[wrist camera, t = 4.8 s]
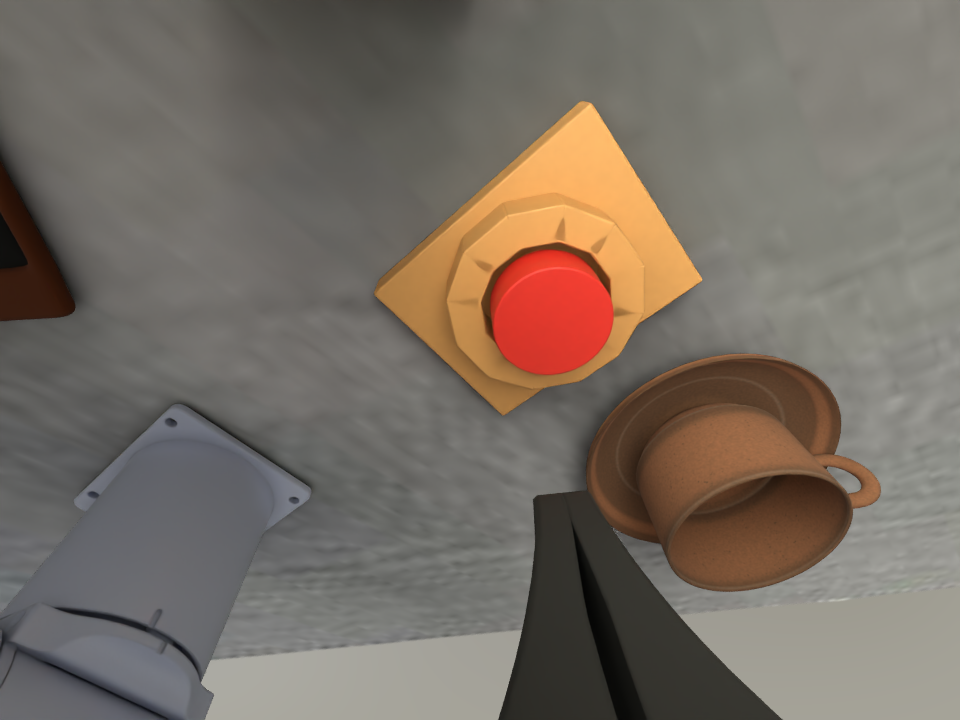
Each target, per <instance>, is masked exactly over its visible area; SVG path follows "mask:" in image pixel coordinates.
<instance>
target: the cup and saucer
mask: <svg viewBox="0 0 960 720" xmlns="http://www.w3.org/2000/svg"><path fill="white" fill-rule="evenodd" d="M840 433H841V415H840V410H839V406H838V404H837V401H836V399H835V397H834V395H833V394H832V392H831V390H830V389H829V388H828V387H827V385H826V384H825V383H824V382H823V381H822V380H820V379H819V378H818V377H817V376H816V375H814V374H813V373H811V372H809V371H808V370H806V369H804V368H802V367H800V366H798V365H796V364H794V363H792V362H789V361H786V360H783V359H780V358H776V357H771V356H766V355H758V354H728V355H721V356H714V357H709V358H705V359H700V360H697V361H694V362H690V363H687V364H684V365H682V366H679V367H677V368H674V369H672V370H670V371H667V372H665V373H663V374H661V375H659V376H657V377H656V378H654V379H652V380H650V381H649V382H647V383H646V384H644V385H643V386H641V387H640V388H638V389H637V390H635V391H634V392H633V393H632V394H630V395H629V396H628V397H626V398H625V399H624V400H623V401H622V402H621V403H620V404H619V405H618V406H617V407H616V408H615V409H614V410H613V411H612V412H611V414H610V415H609V416H608V417H607V419H606V420H605V421H604V422H603V424H602V425H601V427H600V429H599V430H598V432H597V434H596V436H595V438H594V440H593V442H592V444H591V447H590V450H589V454H588V458H587V465H586V484H587V489H588V492H590V493H591V494H592V496H593V498H594V500H595V502H596V503H597V505H598V507H599V509H600V510H601V512H602V514H603V515H604V517H605V518H606V520H607V522H608V523H609V525H611V526H612V527H614V528H615V529H617V530H618V531H620V532H622V533H624V534H626V535H628V536H631V537H633V538H636V539H640V540H643V541H648V542H652V543H660V544H661V545H662V548H663V550H664V553H665V555H666V557H667V560H668V562H669V564H670V566H671V568H672V570H673V571H674V572H675V574H676V575H677V576H678V577H680V578H681V579H682V580H684V581H685V582H687V583H689V584H691V585H693V586H696V587H699V588H702V589H706V590H712V591H723V592H733V591H745V590H752V589H757V588H762V587H766V586H770V585H773V584H776V583H779V582H782V581H785V580H787V579H789V578H792V577H794V576H796V575H798V574H800V573H802V572H804V571H806V570H807V569H809V568H811V567H812V566H814V565H815V564H817V563H818V562H820V561H821V560H822V559H824V558H825V557H826V556H827V555H829V554H830V553H831V552H832V551H833V550H834V549H835V548H836V547H837V546H838V544H839V543H840V542H841V541H842V539H843V538H844V536H845V535H846V533H847V531H848V529H849V527H850V524H851V521H852V516H853V509H854V508H861V507H865V506H868V505H871V504H873V503H874V502H875V501H877V499H878V498H879V496H880V493H881V487H880V484H879V482H878V480H877V478H876V477H875V476H874V475H873V473H872V472H870V471H869V470H868V469H867V468H865V467H864V466H862V465H861V464H859V463H857V462H855V461H853V460H851V459H848V458H845V457H842V456H838V455H834V454H835V451H836V448H837V445H838V442H839V438H840ZM828 466H830V467H836V468H840V469H842V470H845V471H847V472H849V473H851V474H852V475H854V476H855V477H856V478H857V479H858V480H859V481H860V483H861V489H860V490H859V491H858V492H855V493H849V494H848V493H847V492H846V490H845V489H844V488H843V487H842V486H841V485H840V484H839V483H838V482H837V481H836V480H835V478H834V477H833V476H832V475H831V474H830V473H829V472H828V471H827V470H826V469H827V467H828Z"/></svg>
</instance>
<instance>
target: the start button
mask: <svg viewBox="0 0 960 720" xmlns="http://www.w3.org/2000/svg"><path fill="white" fill-rule="evenodd" d="M490 313H491V320H492V327H493V335H494V338H495V342H496V344H497V346H498V348H499V350H500V352H501V353H502V354H503V356H504V357H505V358H506V359H507V360H508V361H509V362H510V363H512V364H513V365H515V366H516V367H518V368H520V369H522V370H524V371H527V372H530V373H534V374H539V375H556V374H562V373H566V372H569V371H572V370H574V369H577V368H579V367H581V366H582V365H584V364H586V363H587V362H589V361H590V360H591V359H592V358H594V357H595V356H596V355H597V354H598V353H599V351H600V350H601V349H602V348H603V346H604V345H605V343H606V342H607V340H608V338H609V336H610V333H611V330H612V326H613V321H614V310H613V304H612V300H611V298H610V295H609V293H608V292H607V290H606V288H605V287H604V285H603V284H602V282H601V281H600V279H599V278H598V277H597V275H596V274H595V272H594V271H593V269H592V268H591V267H590V266H589V265H588V264H587V263H586V262H585V261H584V260H583V259H581V258H580V257H578V256H576V255H574V254H572V253H569V252H566V251H562V250H539V251H535V252H532V253H529V254H526V255H524V256H522V257H520V258H518V259H517V260H515V261H514V262H513V263H511V264H510V265H509V266H508V267H507V268H506V269H505V270H504V271H503V272H502V273H501V275H500V276H499V278H498V279H497V281H496V283H495V285H494V287H493V290H492V293H491V298H490Z"/></svg>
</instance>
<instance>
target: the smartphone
mask: <svg viewBox="0 0 960 720" xmlns="http://www.w3.org/2000/svg"><path fill="white" fill-rule="evenodd" d="M74 311H75V303H74V300H73V298H72V296H71V294H70V292H69V290H68V288H67V286H66V284H65V282H64V280H63V277H62V275H61V273H60V271H59V269H58V267H57V265H56V263H55V261H54V260H53V258H52V256H51V254H50V252H49V250H48V248H47V246H46V245H45V243H44V241H43V239H42V237H41V235H40V233H39V232H38V230H37V228H36V226H35V224H34V222H33V220H32V219H31V217H30V215H29V213H28V211H27V209H26V207H25V206H24V204H23V202H22V200H21V198H20V196H19V194H18V193H17V191H16V189H15V187H14V185H13V183H12V181H11V180H10V178H9V176H8V174H7V172H6V170H5V168H4V167H3V165H2V163H1V161H0V321H9V320H26V319H43V318H57V317H64V316H68V315H70V314H72V313H73V312H74Z"/></svg>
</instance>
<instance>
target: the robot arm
mask: <svg viewBox="0 0 960 720" xmlns="http://www.w3.org/2000/svg"><path fill="white" fill-rule="evenodd" d="M170 418H171V419H174V420H175V421H176V422H175V421H172V420H171V419H170ZM311 492H312V491H311V488H310V487H308V486H307V485H306V484H304V483H302V482H301V481H299V480H298V479H296V478H295V477H293V476H292V475H290V474H289V473H287V472H286V471H284V470H283V469H281V468H280V467H278V466H277V465H275V464H274V463H272V462H271V461H269V460H268V459H266V458H264V457H263V456H261V455H260V454H258V453H257V452H255V451H254V450H252V449H251V448H249V447H248V446H246V445H245V444H243V443H242V442H240V441H239V440H237V439H236V438H234V437H233V436H231V435H229V434H228V433H226V432H225V431H223V430H222V429H220V428H219V427H217V426H216V425H214V424H213V423H211V422H210V421H208V420H207V419H205V418H204V417H202V416H201V415H199V414H198V413H196V412H195V411H193V410H191V409H190V408H188V407H187V406H185V405H182V404H174V405H172V406H171V407H170V408H169V409H168V410H166V411H165V412H164V413H163V414H162V415H161V416H160V417H159V418H158V419H157V420H156V421H155V422H154V423H153V424H152V425H151V426H150V427H149V428H148V429H147V430H146V431H144V432H143V433H142V434H141V435H140V436H139V437H138V438H137V439H136V440H135V441H134V442H133V443H132V444H131V445H130V446H129V447H128V448H127V449H126V450H125V451H124V452H122V453H121V454H120V455H119V456H118V457H117V458H116V459H115V460H114V461H113V462H112V463H111V464H110V465H109V466H108V467H107V468H106V469H105V470H104V471H103V472H102V473H101V474H99V475H98V476H97V477H96V478H95V479H94V480H93V481H92V482H91V483H90V484H89V485H88V486H87V487H86V488H85V489H84V490H83V491H82V492H81V493H80V494H79V495H78V496H77V497H76V498H75V499H74V504H75V505H76V506H77V507H78V508H80V509H82V510H84V511H86V513H85V514H84V515H83V516H82V517H81V519H80V520H79V521H78V522H77V523H76V524H75V526H74V527H73V528H72V529H71V530H70V532H69V533H68V534H67V535H66V536H65V538H64V539H63V540H62V541H61V542H60V544H59V545H58V546H57V547H56V548H55V549H54V551H53V552H52V553H51V554H50V555H49V557H48V558H47V559H46V560H45V561H44V563H43V564H42V565H41V566H40V567H39V569H38V570H37V571H36V572H35V573H34V574H33V576H32V577H31V578H30V579H29V580H28V582H27V583H26V584H25V585H24V586H23V588H22V589H21V590H20V591H19V592H18V594H17V595H16V596H15V597H14V598H13V600H12V601H11V602H10V603H9V604H8V605H7V607H6V608H5V609H4V610H3V611H2V613H1V614H0V720H204V719H205V717H206V714H207V712H208V710H209V707H210V704H211V701H212V699H213V697H214V694H213V693H212V692H210V691H209V690H207V689H206V688H205V687H203V686H202V684H201V681H202V679H203V676H204V674H205V672H206V669H207V667H208V664H209V662H210V660H211V657H212V655H213V653H214V650H215V648H216V645H217V643H218V641H219V638H220V636H221V633H222V631H223V629H224V626H225V624H226V621H227V619H228V617H229V614H230V612H231V609H232V607H233V605H234V602H235V600H236V598H237V595H238V593H239V590H240V588H241V586H242V583H243V581H244V578H245V576H246V574H247V571H248V569H249V566H250V564H251V562H252V559H253V557H254V555H255V552H256V550H257V547H258V545H259V543H260V540H261V538H262V535H263V533H264V532H265V531H266V530H268V529H269V528H270V527H272V526H273V525H274V524H276V523H277V522H279V521H280V520H281V519H283V518H284V517H285V516H287V515H288V514H290V513H291V512H292V511H294V510H295V509H296V508H298V507H299V506H301V505H302V504H303V503H305V502H306V501H307V500H308V499H309V498H310V496H311ZM294 497H296V498H294ZM533 505H534V524H535V551H534V561H533V570H532V578H531V585H530V591H529V597H528V603H527V608H526V614H525V619H524V624H523V629H522V634H521V638H520V642H519V646H518V651H517V655H516V659H515V663H514V667H513V670H512V674H511V678H510V681H509V685H508V689H507V692H506V696H505V699H504V703H503V706H502V709H501V712H500V716H499V719H498V720H782V719H781V718H780V717H779V716H778V715H777V714H776V713H775V712H774V711H773V710H771V709H770V708H769V707H768V706H767V705H766V704H765V703H764V702H763V701H762V700H761V699H760V698H759V697H758V696H757V695H756V694H755V693H754V692H753V691H751V690H750V689H749V688H748V687H747V686H746V685H745V684H744V683H743V682H742V681H741V680H740V679H739V678H738V677H737V676H735V674H734V673H732V672H731V671H730V670H729V669H728V668H727V667H726V666H725V665H724V663H722V661H721V660H720V659H719V658H718V657H717V656H716V655H715V654H714V653H713V652H712V651H711V650H710V649H709V648H708V647H707V646H706V645H705V644H704V643H703V642H702V641H701V640H700V639H699V637H698V636H697V635H696V634H695V633H694V632H693V631H692V630H691V629H690V628H689V627H688V626H687V624H686V623H685V622H684V621H683V620H682V619H681V618H680V616H679V615H678V614H677V613H676V612H675V611H674V609H673V608H672V607H671V606H670V605H669V604H668V602H667V601H666V600H665V599H664V597H663V596H662V595H661V594H660V593H659V591H658V590H657V589H656V588H655V586H654V585H653V584H652V583H651V581H650V580H649V579H648V578H647V576H646V575H645V574H644V572H643V571H642V570H641V568H640V567H639V566H638V564H637V563H636V562H635V560H634V559H633V558H632V556H631V555H630V554H629V552H628V551H627V550H626V548H625V547H624V545H623V544H622V542H621V541H620V540H619V538H618V537H617V535H616V534H615V532H614V531H613V529H612V528H611V526H610V525H609V523H608V522H607V520H606V518H605V517H604V515H603V514H602V512H601V510H600V509H599V507H598V505H597V503H596V502H595V500H594V498H593V496H592V494H591V493H590V492H588V491H587V490H586V491H576V492H566V493H556V494H546V495H537V496H536V497H535V498H534V499H533Z"/></svg>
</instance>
